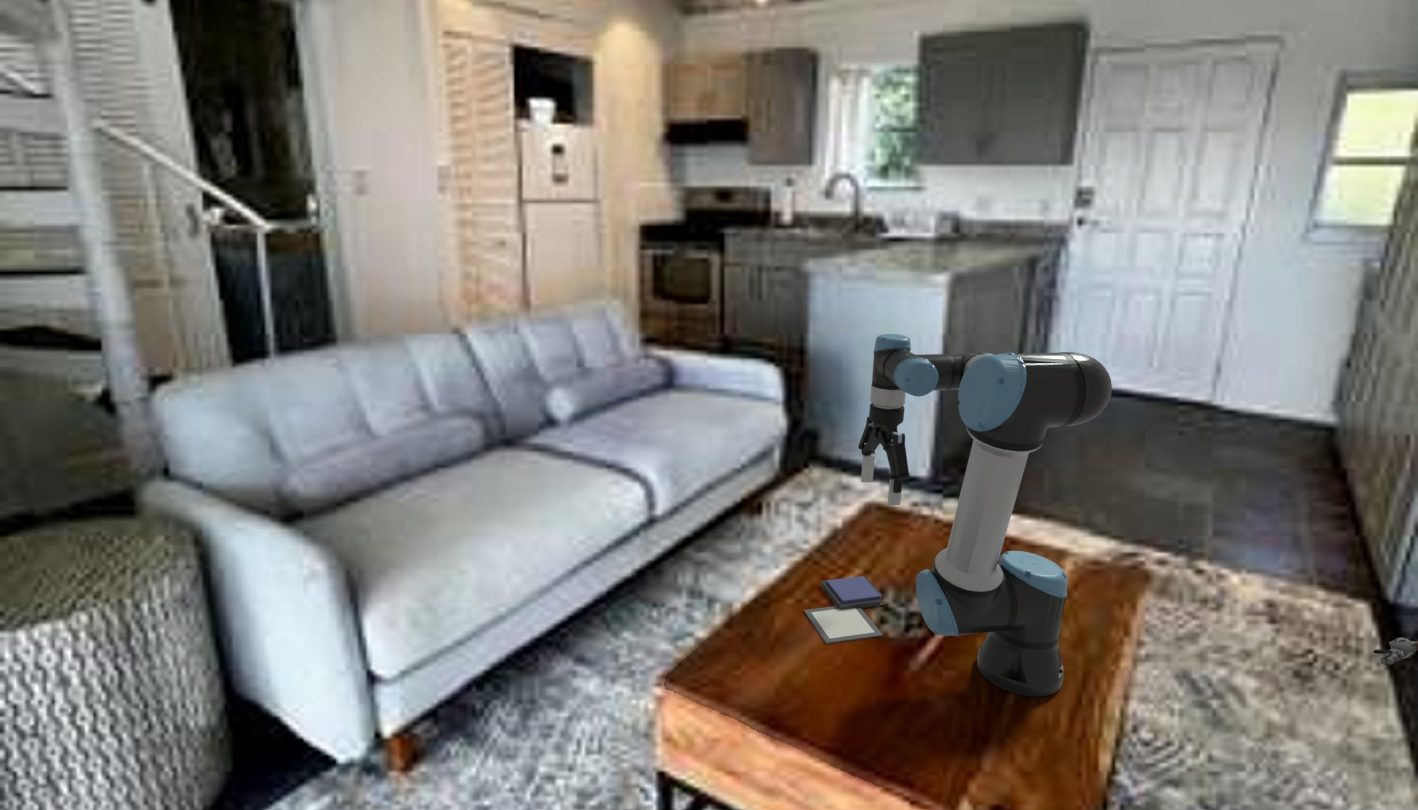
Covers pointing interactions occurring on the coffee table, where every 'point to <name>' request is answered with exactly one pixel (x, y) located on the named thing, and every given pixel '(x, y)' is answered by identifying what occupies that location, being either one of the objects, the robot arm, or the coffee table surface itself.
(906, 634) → the coffee table surface
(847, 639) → the grey picture frame
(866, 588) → the ink pad
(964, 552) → the robot arm
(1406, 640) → the grey lumpy piece
